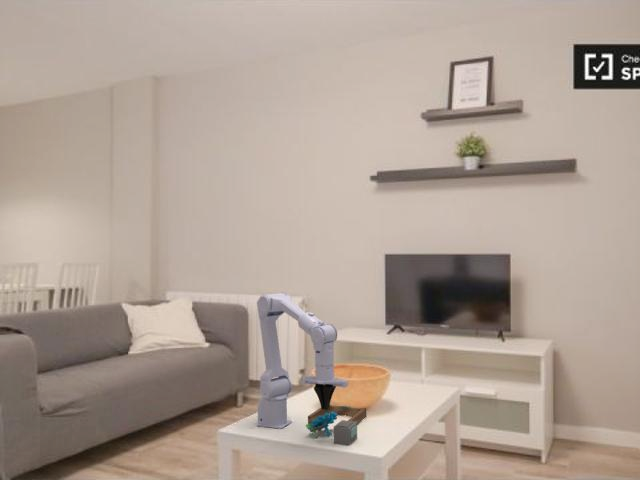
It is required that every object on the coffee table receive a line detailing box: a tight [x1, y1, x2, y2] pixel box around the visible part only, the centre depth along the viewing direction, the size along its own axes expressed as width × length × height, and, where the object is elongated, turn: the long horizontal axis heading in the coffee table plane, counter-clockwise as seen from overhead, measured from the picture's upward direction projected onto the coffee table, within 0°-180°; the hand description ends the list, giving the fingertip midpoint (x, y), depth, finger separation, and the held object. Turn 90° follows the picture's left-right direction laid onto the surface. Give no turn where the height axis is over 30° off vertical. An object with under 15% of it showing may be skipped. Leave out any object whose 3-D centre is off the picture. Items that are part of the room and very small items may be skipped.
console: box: [333, 419, 358, 446], centre depth 175 cm, size 5×7×5 cm
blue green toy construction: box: [305, 412, 338, 439], centre depth 181 cm, size 11×6×10 cm
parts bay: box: [307, 404, 367, 426], centre depth 195 cm, size 15×15×3 cm
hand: (325, 408), depth 175 cm, fingers closed
